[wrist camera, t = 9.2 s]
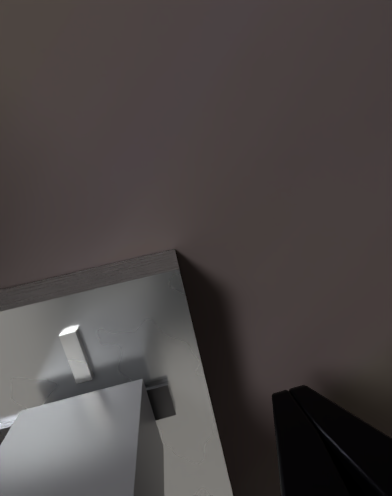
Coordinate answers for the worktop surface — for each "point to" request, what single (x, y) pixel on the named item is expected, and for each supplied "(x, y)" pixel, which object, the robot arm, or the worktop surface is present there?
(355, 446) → the robot arm
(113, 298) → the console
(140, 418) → the cream fader
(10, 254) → the worktop surface
